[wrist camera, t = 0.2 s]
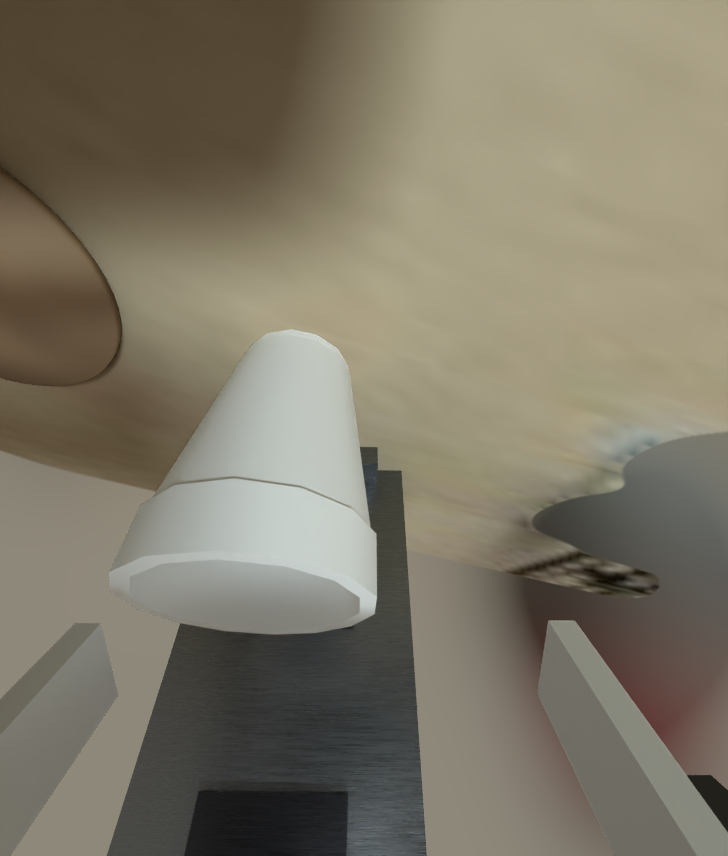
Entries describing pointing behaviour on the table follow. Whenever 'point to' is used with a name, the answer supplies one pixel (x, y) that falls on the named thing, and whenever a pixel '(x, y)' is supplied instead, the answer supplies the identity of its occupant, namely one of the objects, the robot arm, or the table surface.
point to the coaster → (50, 297)
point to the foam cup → (262, 505)
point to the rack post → (289, 731)
